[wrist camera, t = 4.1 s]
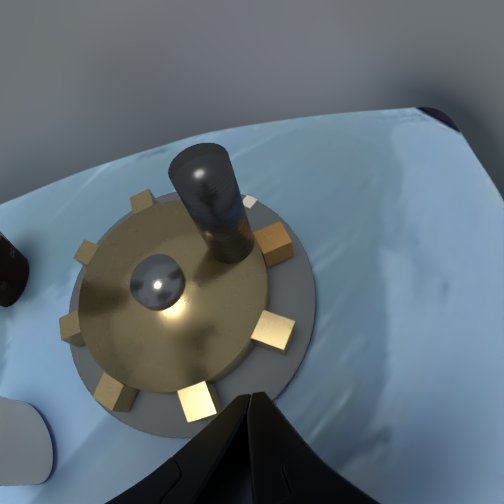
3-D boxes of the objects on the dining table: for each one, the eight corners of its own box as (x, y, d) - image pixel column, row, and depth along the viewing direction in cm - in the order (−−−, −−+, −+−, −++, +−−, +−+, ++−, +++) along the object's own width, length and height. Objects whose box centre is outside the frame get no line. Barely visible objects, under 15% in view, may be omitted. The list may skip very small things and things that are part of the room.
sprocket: (348, 256, 21) (366, 157, 13) (193, 476, 16) (109, 511, 7) (168, 170, 28) (128, 90, 20) (44, 320, 23) (-35, 273, 15)
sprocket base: (364, 261, 22) (367, 252, 21) (204, 491, 16) (197, 496, 15) (173, 170, 30) (169, 161, 29) (45, 327, 24) (35, 322, 23)
